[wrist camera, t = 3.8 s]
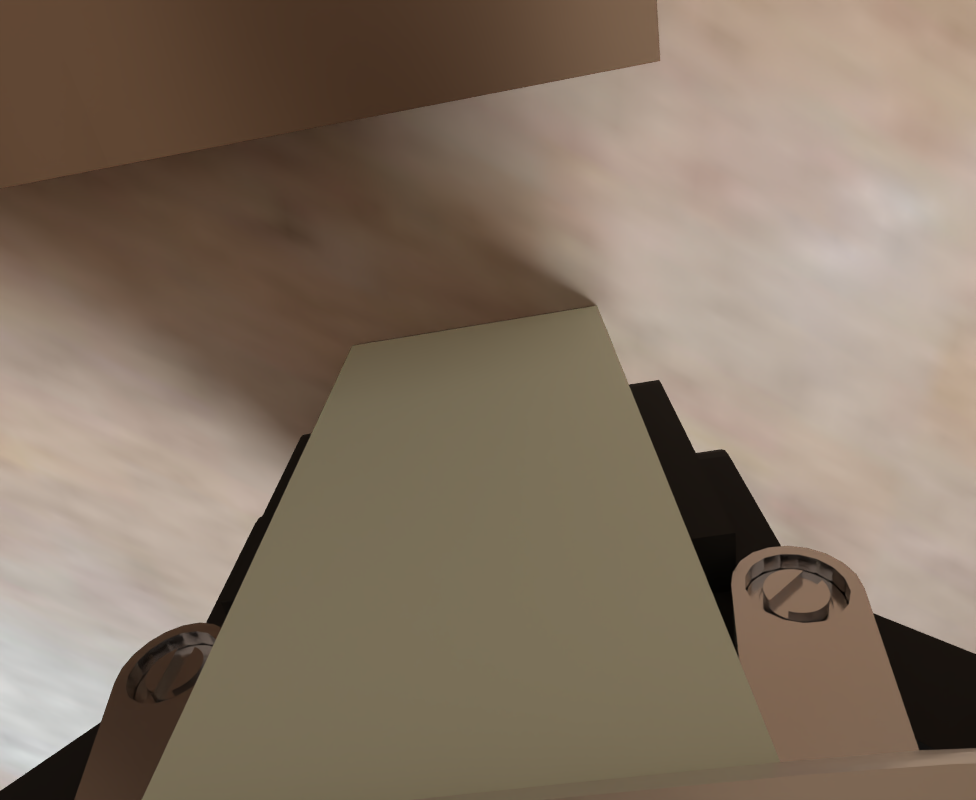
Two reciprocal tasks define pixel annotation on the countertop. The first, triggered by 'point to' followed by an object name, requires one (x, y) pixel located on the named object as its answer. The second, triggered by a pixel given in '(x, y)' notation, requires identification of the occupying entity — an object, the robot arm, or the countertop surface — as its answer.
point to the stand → (273, 67)
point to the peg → (469, 591)
